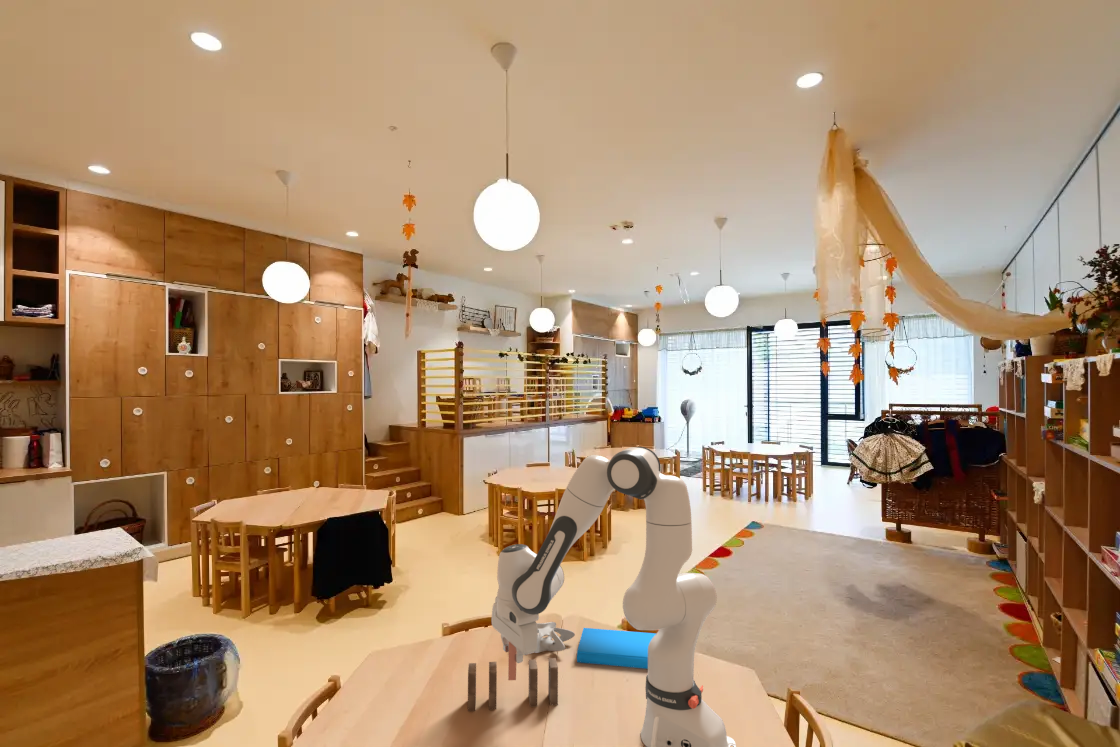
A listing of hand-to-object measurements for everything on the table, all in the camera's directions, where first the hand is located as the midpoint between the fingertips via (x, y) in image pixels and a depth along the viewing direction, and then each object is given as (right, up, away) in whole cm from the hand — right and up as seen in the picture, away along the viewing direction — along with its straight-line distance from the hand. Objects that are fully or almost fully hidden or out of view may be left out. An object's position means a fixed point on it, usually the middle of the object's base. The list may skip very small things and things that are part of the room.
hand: (512, 656), depth 147 cm
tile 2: (-5, -12, -1) cm, 13 cm away
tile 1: (-11, -12, -2) cm, 16 cm away
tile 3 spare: (0, -5, 0) cm, 5 cm away
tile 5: (+11, -12, +1) cm, 17 cm away
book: (+32, -14, +27) cm, 44 cm away
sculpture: (+8, -13, +31) cm, 35 cm away
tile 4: (+6, -12, 0) cm, 14 cm away
